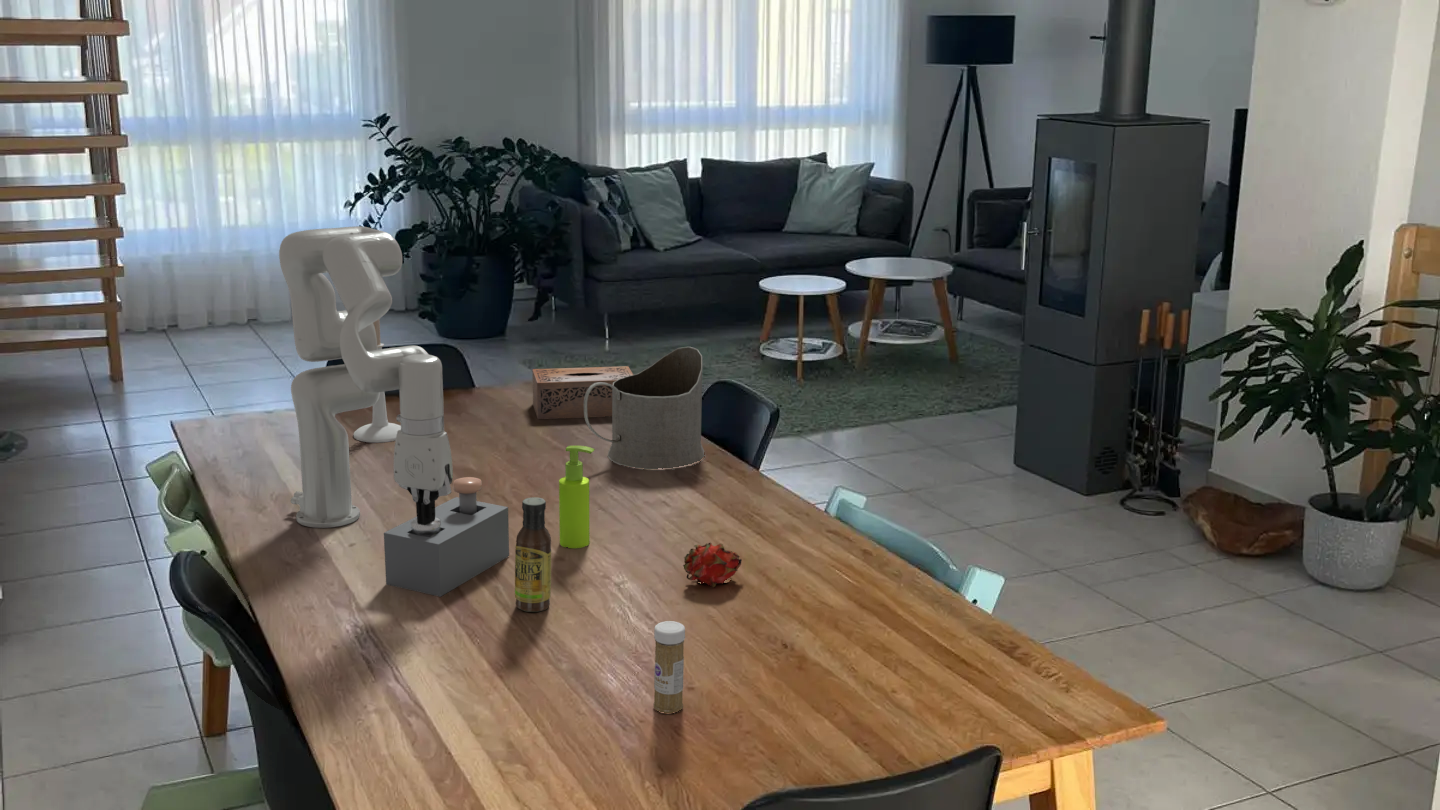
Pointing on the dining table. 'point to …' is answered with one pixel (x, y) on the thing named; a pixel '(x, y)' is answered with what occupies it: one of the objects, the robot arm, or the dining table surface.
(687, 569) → the dragon fruit
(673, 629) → the sprinkles bottle
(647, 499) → the dining table surface
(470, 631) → the dining table surface
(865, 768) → the dining table surface
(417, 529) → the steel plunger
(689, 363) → the pitcher
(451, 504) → the button box
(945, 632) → the dining table surface
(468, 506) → the terracotta plunger
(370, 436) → the candlestick
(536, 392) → the tissue box cover
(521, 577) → the sauce bottle
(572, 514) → the soap dispenser
